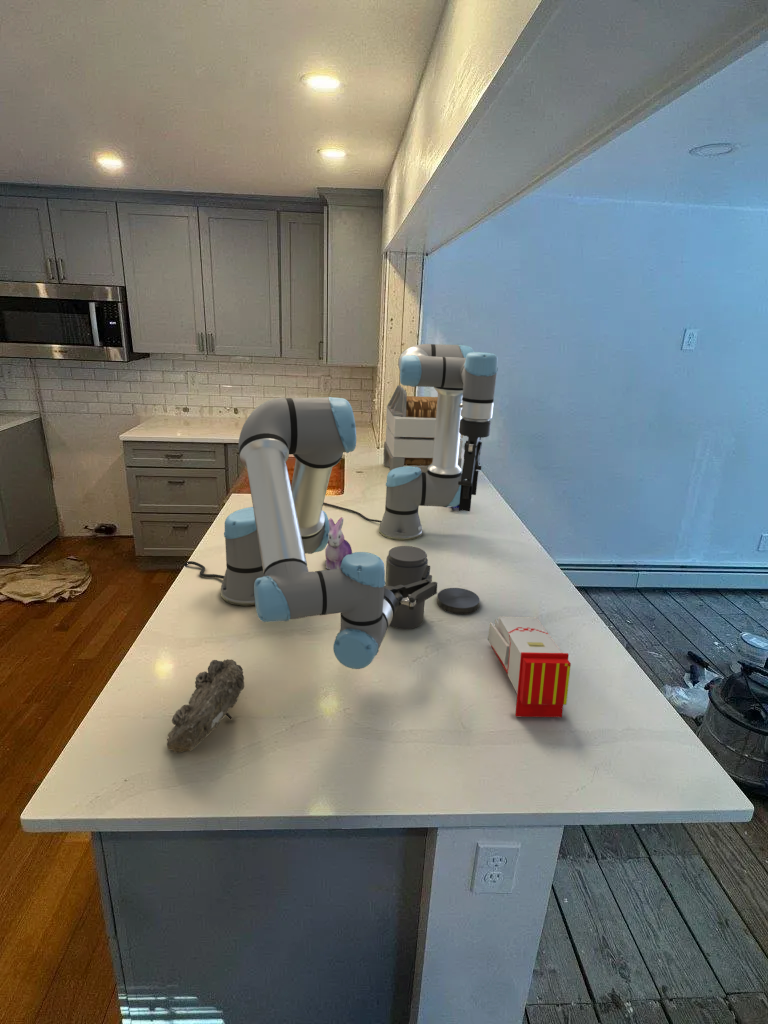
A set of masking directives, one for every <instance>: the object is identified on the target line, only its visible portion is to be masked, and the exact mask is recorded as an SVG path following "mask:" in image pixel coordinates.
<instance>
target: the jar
mask: <svg viewBox="0 0 768 1024" xmlns="http://www.w3.org/2000/svg"><path fill="white" fill-rule="evenodd" d="M385 559H386V560H385V586H393V587H394V586H398V585H403V586H405V585H408V584H412V583H415V582H418V581H421V580H422V576H423V573H424V571H425V569H426V567H427V565H428V564H429V560H428V553H427V552H426V551H425V550H424V549H422V548H420V547H417V546H411V545H397V546H394V547H391V549H389V550H388V554H387V556H386V558H385ZM428 566H429V565H428ZM425 604H426V600H425V601H423V602H421V603H420V604H418V605H416V607H415V608H414V609H413V610H410V609H409V608H408V605H404V604H402V605H401V606H399V607H398V608H397V611H396V613H395V615H394V617H393V619H392V621H391V623H390V625H389V627H392V628H396V629H398V630H399V629H401V630H411V629H416V628H418V627H420V626H421V625H422V624H423V623H424V620H425V619H424V616H425V606H426V605H425Z"/></svg>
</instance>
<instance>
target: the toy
mask: <svg viewBox="0 0 768 1024" xmlns="http://www.w3.org/2000/svg"><path fill="white" fill-rule="evenodd" d="M488 625H489V627H488V633H487V641H488V642H489V644H490V646H491V647H490V648H491V649H492V650H493V652H494V654H495V656H496V658H497V659H498V660H499V662H500V664H501V666H502V668H503V669H504V671H505V673H506V674H507V676H508V678H509V680H510V682H511V685H512V686H513V689H514V690H515V693H516V704H515V717H516V718H517V717H518V718H519V717H520V718H521V717H522V718H563V710H564V705H567V701H568V692H569V685H570V684H569V683H570V676H571V675H570V674H571V666H572V664H571V661H570V660H569V655H570V654H569V653H568V652H563V651H562V649H561V648H560V647H559V646H558V644H557V643H556V642H555V640H554V639H553V638H552V636H551V635H550V634H549V632H548V631H547V629H546V628H545V627H544V626H543V624H542V622H541V621H540V620H539V619H538V618H537V616H498V618H496V619H494V623H493V622H489V624H488Z"/></svg>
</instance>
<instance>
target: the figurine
mask: <svg viewBox="0 0 768 1024" xmlns="http://www.w3.org/2000/svg"><path fill="white" fill-rule="evenodd" d="M328 521H329V534H328V535H329V539H328V543H327V545H326V547H325V562H324V564H325V568H326V570H332V569H340V568H341V563H342V560H343V558H344V557H345V556H346V555H348V554H352V553H353V550H352V546H351V544H350V542H349V541H347V539H345V535H344V533H343V530H342V528H343V525H344V517H340V518H339V519H338V520H337V521H336V523H335V521H334V519H333V518H332V517H330V518H328Z"/></svg>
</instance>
